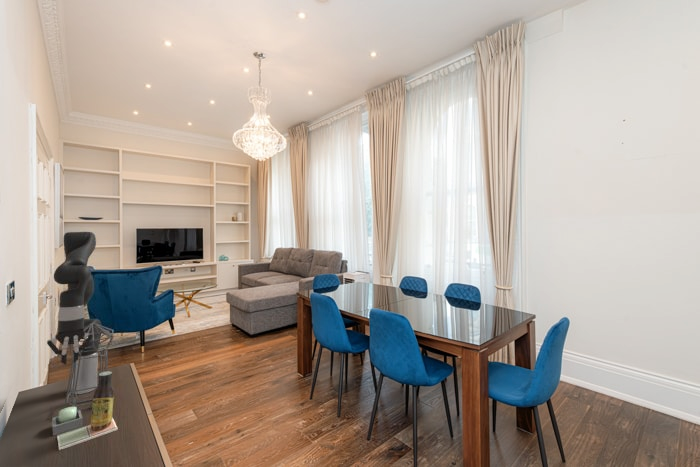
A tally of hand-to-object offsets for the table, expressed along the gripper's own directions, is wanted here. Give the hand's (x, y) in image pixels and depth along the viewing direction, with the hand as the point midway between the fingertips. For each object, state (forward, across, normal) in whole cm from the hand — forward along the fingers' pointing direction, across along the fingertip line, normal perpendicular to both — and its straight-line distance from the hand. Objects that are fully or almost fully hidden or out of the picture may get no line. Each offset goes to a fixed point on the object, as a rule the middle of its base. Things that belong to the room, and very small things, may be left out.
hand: (69, 362), depth 118 cm
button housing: (+24, 0, 0) cm, 24 cm away
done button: (+22, 0, 0) cm, 22 cm away
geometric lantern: (+24, +8, +15) cm, 30 cm away
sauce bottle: (+23, +9, -11) cm, 27 cm away
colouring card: (+24, +5, -11) cm, 27 cm away
